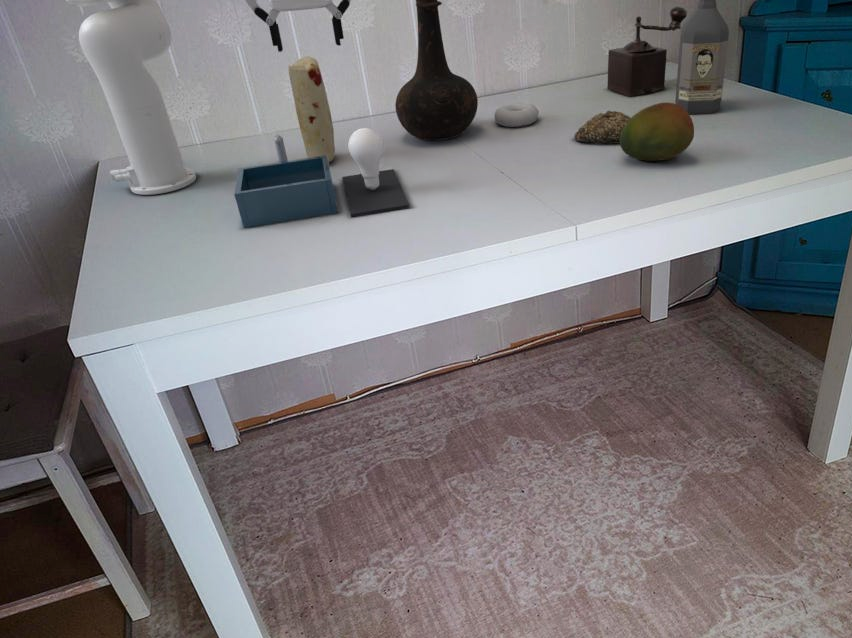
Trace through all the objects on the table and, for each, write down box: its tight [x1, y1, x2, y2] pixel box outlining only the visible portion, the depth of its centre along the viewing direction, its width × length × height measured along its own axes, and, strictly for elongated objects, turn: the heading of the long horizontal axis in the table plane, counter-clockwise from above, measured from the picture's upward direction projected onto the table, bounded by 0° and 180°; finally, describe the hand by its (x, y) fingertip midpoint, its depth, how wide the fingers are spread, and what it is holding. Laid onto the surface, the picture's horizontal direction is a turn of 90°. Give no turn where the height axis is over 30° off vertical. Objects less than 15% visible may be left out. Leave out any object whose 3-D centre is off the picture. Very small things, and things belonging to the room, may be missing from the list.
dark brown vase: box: [394, 0, 479, 141], centre depth 146 cm, size 18×18×28 cm
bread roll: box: [574, 110, 632, 144], centre depth 143 cm, size 13×12×5 cm
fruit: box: [619, 101, 695, 162], centre depth 127 cm, size 12×13×10 cm
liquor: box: [674, 0, 730, 115], centre depth 147 cm, size 9×9×30 cm
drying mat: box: [341, 168, 410, 218], centre depth 127 cm, size 10×20×1 cm, turn 14°
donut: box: [494, 102, 539, 128], centre depth 157 cm, size 10×3×10 cm
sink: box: [233, 133, 339, 229], centre depth 123 cm, size 16×16×11 cm
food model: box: [288, 55, 336, 163], centre depth 140 cm, size 10×7×20 cm
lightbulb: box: [347, 127, 384, 190], centre depth 124 cm, size 6×6×11 cm
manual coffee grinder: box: [606, 6, 688, 98], centre depth 169 cm, size 16×11×18 cm
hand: (309, 47), depth 117 cm, fingers open, 9 cm apart
